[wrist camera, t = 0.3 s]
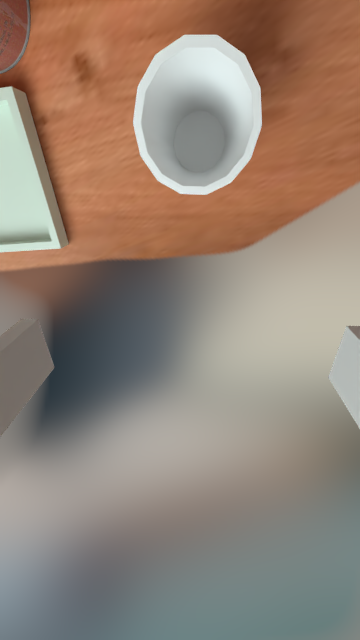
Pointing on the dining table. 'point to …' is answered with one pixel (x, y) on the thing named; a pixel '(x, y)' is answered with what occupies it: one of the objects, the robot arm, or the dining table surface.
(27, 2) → the canned food
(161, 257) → the dining table surface
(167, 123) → the foam cup
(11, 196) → the tray
